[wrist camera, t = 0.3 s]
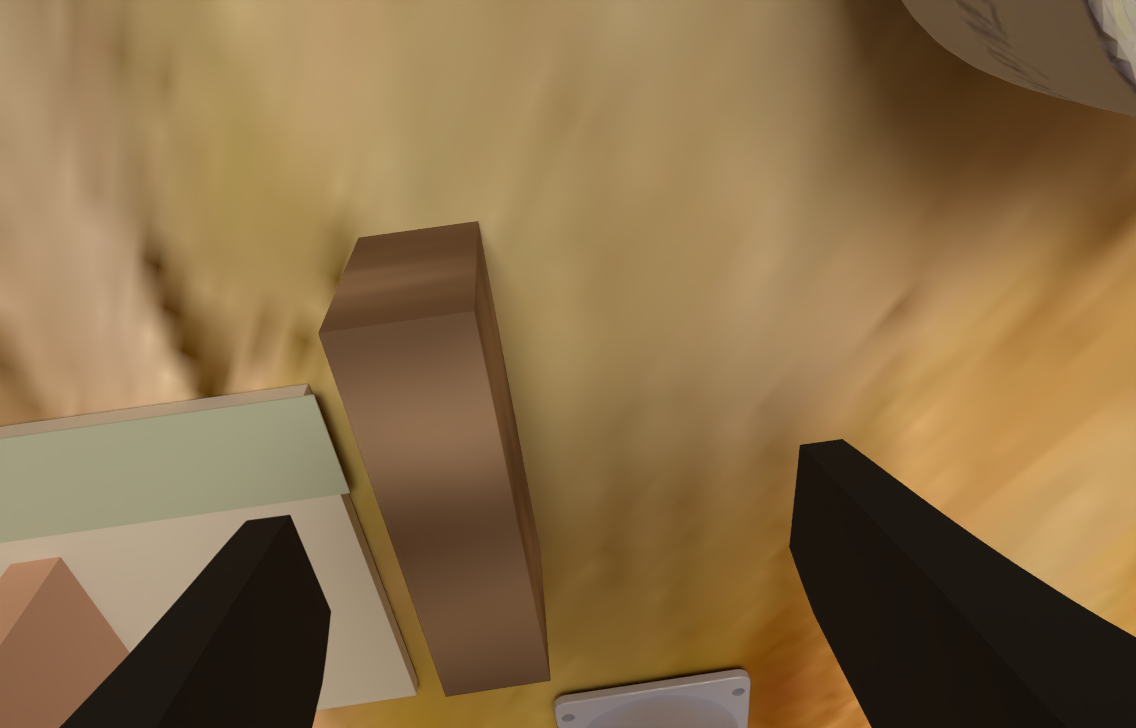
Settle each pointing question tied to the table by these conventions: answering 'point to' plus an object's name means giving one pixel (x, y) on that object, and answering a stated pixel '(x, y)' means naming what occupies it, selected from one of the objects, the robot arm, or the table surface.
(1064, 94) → the teacup
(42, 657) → the tile
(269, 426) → the board
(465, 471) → the bar
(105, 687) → the robot arm
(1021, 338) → the table surface
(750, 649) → the table surface
